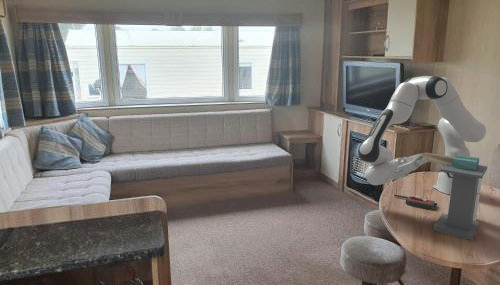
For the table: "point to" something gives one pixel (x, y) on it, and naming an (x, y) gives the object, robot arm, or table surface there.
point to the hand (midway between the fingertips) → (430, 157)
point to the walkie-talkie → (419, 201)
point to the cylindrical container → (477, 196)
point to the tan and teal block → (454, 160)
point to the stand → (461, 203)
